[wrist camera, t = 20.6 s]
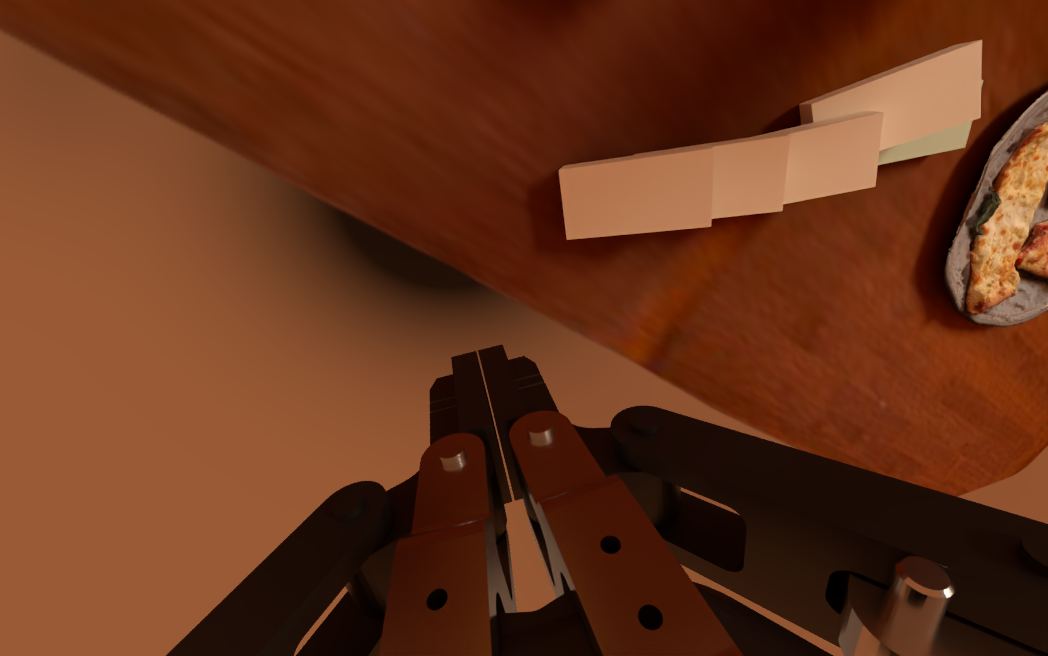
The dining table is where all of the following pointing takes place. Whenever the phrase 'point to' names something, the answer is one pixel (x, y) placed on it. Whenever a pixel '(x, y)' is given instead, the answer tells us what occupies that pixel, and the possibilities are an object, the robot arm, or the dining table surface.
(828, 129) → the tile
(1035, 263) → the food plate
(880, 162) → the sage tile
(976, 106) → the tile
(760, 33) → the dining table surface
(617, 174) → the tile
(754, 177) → the tile
